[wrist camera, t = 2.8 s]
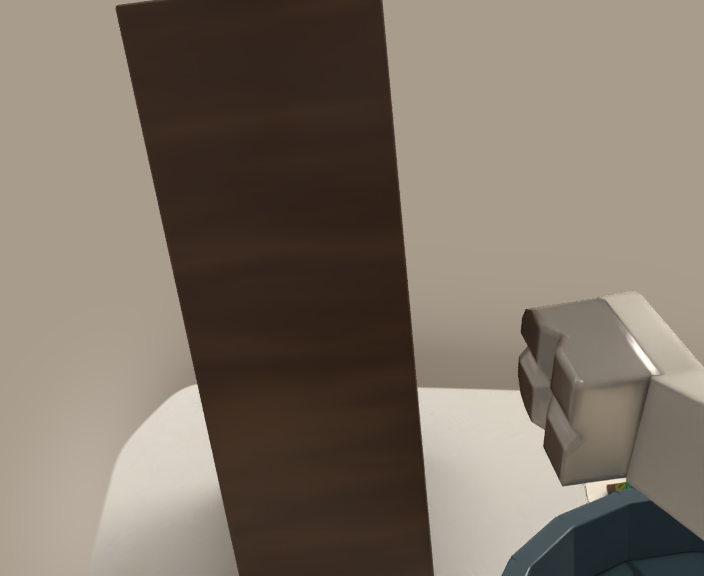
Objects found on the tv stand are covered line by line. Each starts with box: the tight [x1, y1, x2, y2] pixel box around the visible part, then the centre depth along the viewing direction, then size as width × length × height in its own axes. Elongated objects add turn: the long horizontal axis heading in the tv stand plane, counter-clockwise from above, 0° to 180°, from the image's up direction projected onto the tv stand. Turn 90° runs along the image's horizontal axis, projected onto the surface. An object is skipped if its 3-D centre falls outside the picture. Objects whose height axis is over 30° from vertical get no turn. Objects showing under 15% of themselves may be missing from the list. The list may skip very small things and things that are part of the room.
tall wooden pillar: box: [116, 0, 434, 576], centre depth 29 cm, size 12×8×25 cm, turn 178°
